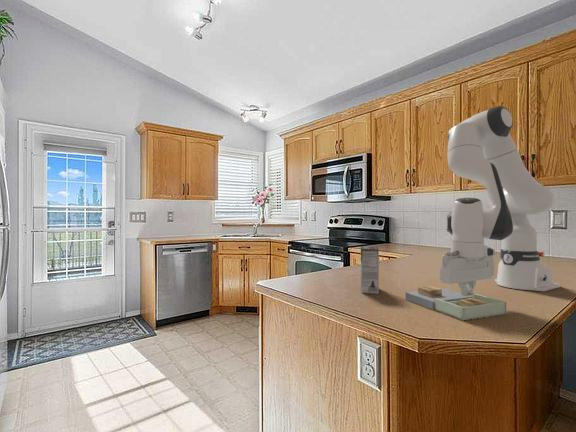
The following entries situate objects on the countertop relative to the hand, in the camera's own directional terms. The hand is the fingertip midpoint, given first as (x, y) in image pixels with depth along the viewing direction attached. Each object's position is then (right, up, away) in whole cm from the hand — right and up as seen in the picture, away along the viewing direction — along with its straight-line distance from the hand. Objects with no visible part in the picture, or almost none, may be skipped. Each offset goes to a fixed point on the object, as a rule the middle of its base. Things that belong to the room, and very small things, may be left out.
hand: (467, 295), depth 99 cm
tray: (-2, -4, -5) cm, 6 cm away
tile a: (0, -3, -2) cm, 4 cm away
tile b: (-9, -1, +6) cm, 11 cm away
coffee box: (-25, -4, +21) cm, 33 cm away
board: (-6, -4, +6) cm, 9 cm away
